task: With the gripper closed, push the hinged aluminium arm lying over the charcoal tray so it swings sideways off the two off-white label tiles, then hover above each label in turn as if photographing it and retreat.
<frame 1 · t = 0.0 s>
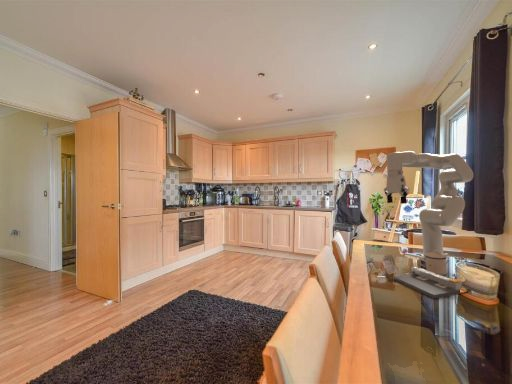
hand: (396, 203, 131), 37 cm above the table, tool pointing down, fingers open, 9 cm apart
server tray: (427, 285, 105), on the table
teacup with lid: (432, 272, 120), on the table
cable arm: (433, 275, 105), point 4 cm above the table, hinge at 0.0°
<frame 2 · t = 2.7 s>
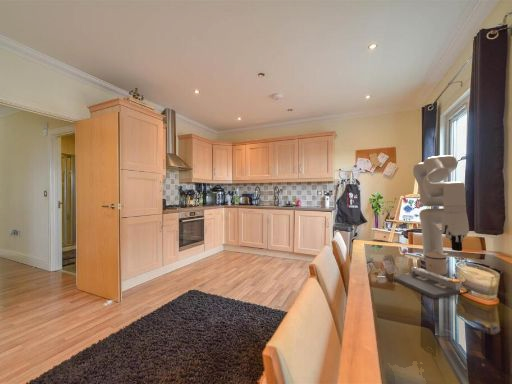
hand: (457, 250, 101), 17 cm above the table, tool pointing down, fingers closed
nothing on the table moved.
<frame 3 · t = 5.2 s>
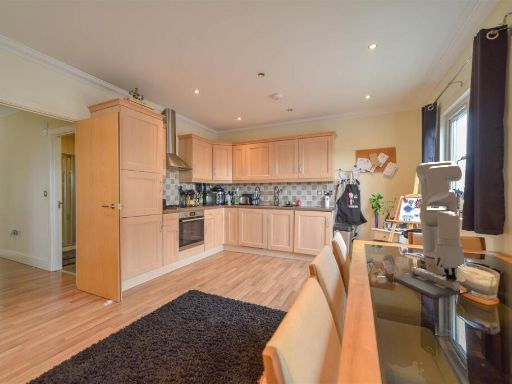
hand: (451, 282, 100), 3 cm above the table, tool pointing down, fingers closed
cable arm: (432, 276, 105), point 4 cm above the table, hinge at 3.1°, touching gripper
everything else where it was.
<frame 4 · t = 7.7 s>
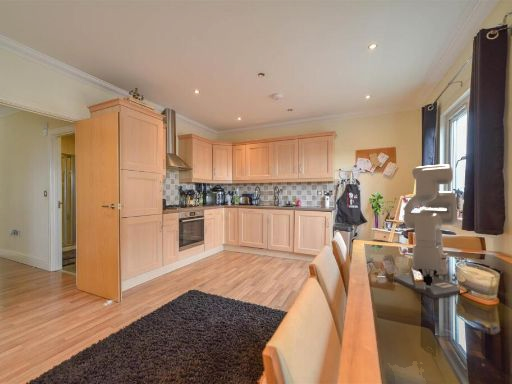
hand: (428, 284, 100), 3 cm above the table, tool pointing down, fingers closed
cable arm: (417, 275, 107), point 4 cm above the table, hinge at 43.1°, touching gripper
everything else where it was.
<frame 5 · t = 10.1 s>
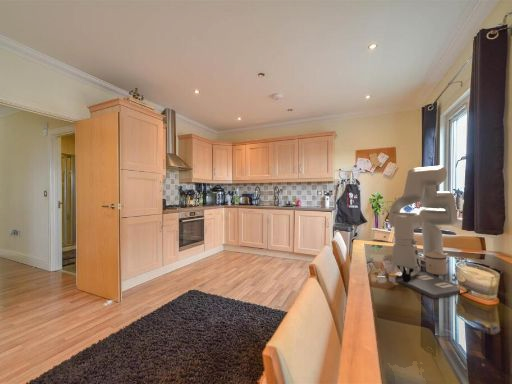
hand: (406, 281, 104), 3 cm above the table, tool pointing down, fingers closed
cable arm: (405, 273, 110), point 4 cm above the table, hinge at 73.6°, touching gripper
everything else where it was.
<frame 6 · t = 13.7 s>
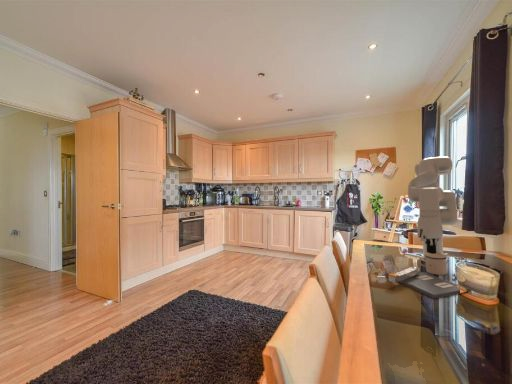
hand: (431, 252, 106), 15 cm above the table, tool pointing down, fingers closed
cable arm: (405, 273, 110), point 4 cm above the table, hinge at 73.6°
everything else where it was.
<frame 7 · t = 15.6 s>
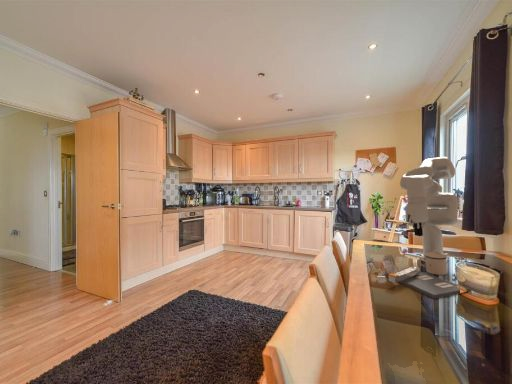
hand: (418, 235, 117), 21 cm above the table, tool pointing down, fingers closed
nothing on the table moved.
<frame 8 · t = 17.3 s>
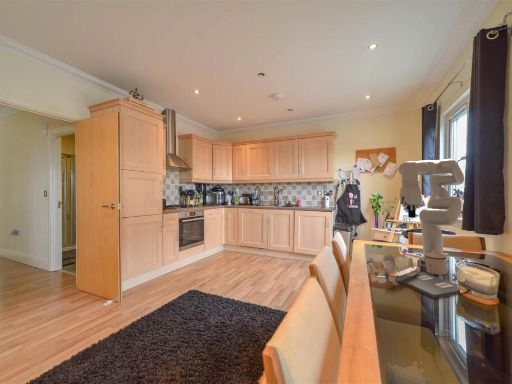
hand: (412, 217, 124), 29 cm above the table, tool pointing down, fingers closed
nothing on the table moved.
at the end: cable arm at +74° (first picture: +0°); teacup with lid moved 0.2 cm from its start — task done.
